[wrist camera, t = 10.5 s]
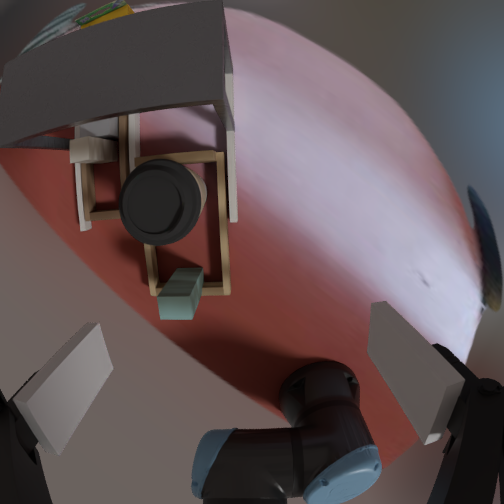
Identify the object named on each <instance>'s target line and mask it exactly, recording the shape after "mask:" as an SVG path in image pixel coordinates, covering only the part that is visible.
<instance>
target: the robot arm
mask: <svg viewBox="0 0 504 504" xmlns="http://www.w3.org/2000/svg"><path fill="white" fill-rule="evenodd" d="M367 353H368V355H369V357H370V358H371V360H372V361H373V363H374V364H375V366H376V367H377V369H378V371H379V372H380V374H381V375H382V377H383V379H384V380H385V382H386V383H387V385H388V386H389V388H390V390H391V391H392V393H393V394H394V396H395V398H396V399H397V401H398V403H399V404H400V406H401V407H402V409H403V411H404V412H405V414H406V416H407V417H408V419H409V421H410V422H411V424H412V426H413V427H414V429H415V431H416V432H417V434H418V436H419V437H420V439H421V441H422V442H423V444H424V445H426V444H429V443H431V442H434V441H437V440H439V439H441V438H442V437H443V434H444V432H445V430H446V428H448V429H449V431H450V432H451V436H450V438H449V440H448V442H447V444H446V446H445V448H444V450H443V453H445V454H444V458H443V461H442V464H441V467H440V470H439V473H438V476H437V479H436V481H435V484H434V487H433V490H432V492H431V495H430V497H429V500H428V502H427V504H492V503H493V498H494V493H495V489H496V483H497V478H498V472H499V482H500V501H501V504H504V386H503V387H502V385H501V384H500V383H499V382H497V381H495V380H493V379H489V378H482V379H478V378H477V377H476V376H475V375H474V374H473V373H472V372H471V371H470V370H469V369H468V368H467V367H466V366H465V365H464V364H463V363H462V362H460V360H459V359H458V358H457V357H456V356H454V354H453V353H452V352H451V351H450V350H449V349H448V348H446V347H444V346H442V345H440V344H438V343H437V344H433V345H431V344H430V343H429V342H428V341H427V340H426V339H425V338H424V337H423V336H422V335H421V334H420V333H419V332H418V331H417V330H416V329H415V328H413V327H412V326H411V325H410V324H409V323H408V322H407V321H406V320H405V319H404V318H403V317H402V316H401V315H400V314H399V313H398V312H397V311H396V310H395V309H394V308H393V307H391V306H390V305H389V304H388V303H387V302H386V301H383V302H376V303H371V315H370V328H369V339H368V349H367ZM113 369H114V368H113V365H112V363H111V360H110V357H109V354H108V351H107V347H106V344H105V341H104V338H103V334H102V332H101V328H100V324H99V323H86V324H85V325H84V326H83V327H82V328H81V329H80V330H79V331H78V332H77V333H76V334H75V335H74V336H73V337H72V338H71V339H70V340H69V341H68V342H67V343H66V344H65V345H64V346H63V347H62V348H61V349H60V350H59V351H58V352H57V353H56V354H55V355H54V356H53V357H52V358H51V359H50V360H49V361H48V362H47V363H46V364H45V365H44V366H43V367H42V368H41V369H40V370H38V371H37V372H35V373H34V374H33V375H32V376H31V377H30V378H29V379H28V381H26V382H25V383H24V385H23V386H22V387H21V388H20V389H19V390H18V391H17V392H16V393H15V394H14V395H13V396H12V397H11V399H10V400H9V401H8V402H7V401H6V399H5V397H4V395H3V393H2V391H1V389H0V504H53V503H52V500H51V498H50V494H49V491H48V487H47V484H46V480H45V476H44V473H43V469H42V465H41V460H40V456H39V452H38V450H37V449H36V447H35V446H36V444H37V443H38V442H39V443H40V445H41V446H42V448H43V449H44V450H45V452H48V453H51V454H54V455H57V456H60V454H61V452H62V451H63V449H64V447H65V446H66V444H67V442H68V441H69V439H70V437H71V436H72V434H73V432H74V431H75V429H76V427H77V425H78V424H79V422H80V421H81V419H82V417H83V416H84V414H85V413H86V411H87V409H88V408H89V406H90V405H91V403H92V401H93V400H94V398H95V397H96V395H97V394H98V392H99V390H100V389H101V387H102V386H103V384H104V383H105V381H106V380H107V378H108V377H109V375H110V374H111V372H112V370H113ZM279 402H280V408H281V411H282V413H283V415H284V416H285V418H286V419H287V421H288V422H289V424H290V425H291V426H292V427H291V428H271V429H238V428H232V429H223V430H221V429H219V430H218V429H217V430H210V431H208V432H207V433H206V434H205V435H204V436H203V437H202V439H201V440H200V442H199V445H198V447H197V451H196V454H195V458H194V462H193V469H192V485H191V487H192V493H193V495H194V496H195V497H197V498H199V499H203V504H287V498H293V497H303V499H304V501H306V503H307V504H340V503H343V502H345V501H348V500H350V499H352V498H354V497H356V496H358V495H360V494H361V493H363V492H364V491H366V490H367V489H368V488H369V487H371V485H373V484H374V482H375V481H376V480H377V479H378V477H379V475H380V473H381V470H382V465H381V461H380V457H379V454H378V448H377V446H376V445H375V443H374V441H373V439H372V436H371V434H370V432H369V430H368V427H367V425H366V423H365V420H364V418H363V416H362V414H361V411H360V409H359V407H360V387H359V383H358V380H357V378H356V376H355V374H354V373H353V371H352V370H351V369H350V368H349V367H347V366H345V365H343V364H341V363H337V362H317V363H313V364H310V365H307V366H304V367H302V368H300V369H299V370H297V371H295V372H294V373H293V374H291V375H290V376H289V377H288V378H287V379H286V380H285V382H284V383H283V385H282V387H281V389H280V392H279Z"/></svg>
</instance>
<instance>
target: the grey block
mask: <svg viewBox="0 0 504 504" xmlns="http://www.w3.org/2000/svg"><path fill="white" fill-rule="evenodd" d="M86 136H91V137H96V138H102V139H107V140H112V139H118V138H119V117H114V118H109V119H104V120H100V121H95V122H91V123H86V124H82V125H80V138H82V137H86Z"/></svg>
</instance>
